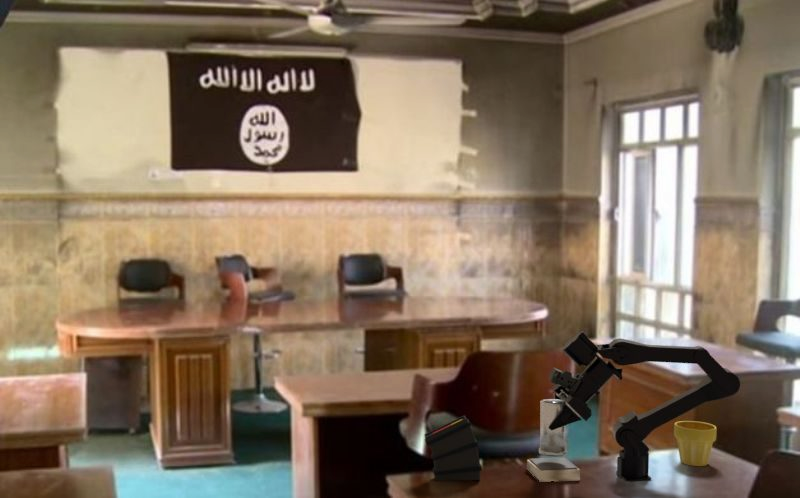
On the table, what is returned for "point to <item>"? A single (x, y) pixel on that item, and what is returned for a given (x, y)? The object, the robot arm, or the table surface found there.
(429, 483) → the table surface
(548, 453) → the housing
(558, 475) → the stand
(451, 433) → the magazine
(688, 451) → the plant pot
